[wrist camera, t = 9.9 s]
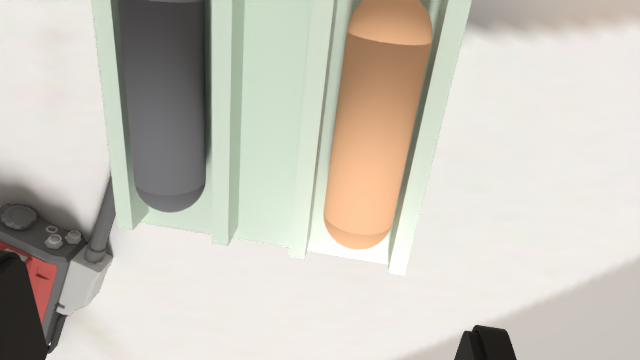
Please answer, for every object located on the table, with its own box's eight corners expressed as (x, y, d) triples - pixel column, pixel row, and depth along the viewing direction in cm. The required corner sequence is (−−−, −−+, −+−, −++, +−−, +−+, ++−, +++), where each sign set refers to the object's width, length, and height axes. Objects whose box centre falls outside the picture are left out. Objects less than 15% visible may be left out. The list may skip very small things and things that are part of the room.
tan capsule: (355, -19, 23) (350, -13, 19) (436, -9, 22) (446, 0, 19) (324, 220, 29) (315, 257, 26) (386, 230, 29) (386, 269, 25)
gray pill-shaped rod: (138, -56, 23) (94, -56, 20) (215, -46, 23) (184, -45, 19) (155, 187, 30) (123, 219, 26) (215, 196, 29) (191, 230, 26)
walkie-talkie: (83, 350, 40) (145, 171, 31) (50, 394, 36) (111, 203, 27) (-14, 307, 39) (21, 110, 30) (-59, 347, 35) (-34, 134, 26)
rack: (113, -127, 23) (75, -137, 20) (479, -85, 22) (493, -90, 19) (142, 214, 32) (118, 240, 29) (400, 257, 31) (401, 288, 28)
